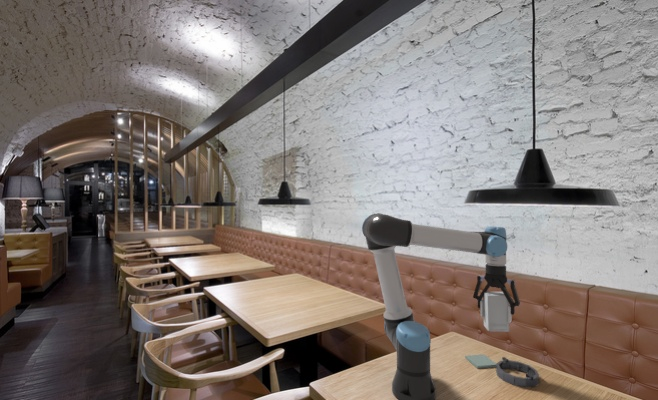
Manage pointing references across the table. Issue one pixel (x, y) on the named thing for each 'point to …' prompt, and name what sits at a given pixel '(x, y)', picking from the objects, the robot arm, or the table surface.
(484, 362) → the plate
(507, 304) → the skincare box
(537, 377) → the locking ring
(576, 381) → the table surface
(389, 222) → the robot arm
